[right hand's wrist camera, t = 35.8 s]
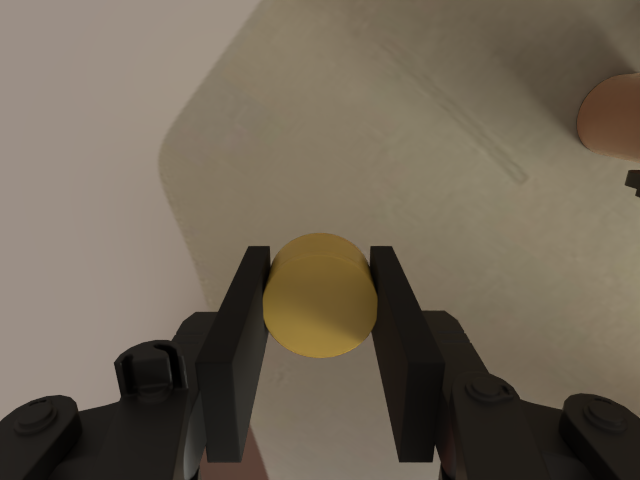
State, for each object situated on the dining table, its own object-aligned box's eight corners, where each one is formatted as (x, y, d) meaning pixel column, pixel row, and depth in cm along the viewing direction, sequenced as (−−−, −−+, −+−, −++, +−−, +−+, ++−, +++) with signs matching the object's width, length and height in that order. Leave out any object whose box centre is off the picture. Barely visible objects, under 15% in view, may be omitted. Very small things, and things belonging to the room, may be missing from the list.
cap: (264, 234, 14) (255, 258, 12) (370, 229, 14) (379, 252, 12) (273, 326, 15) (267, 360, 13) (371, 322, 15) (378, 356, 13)
